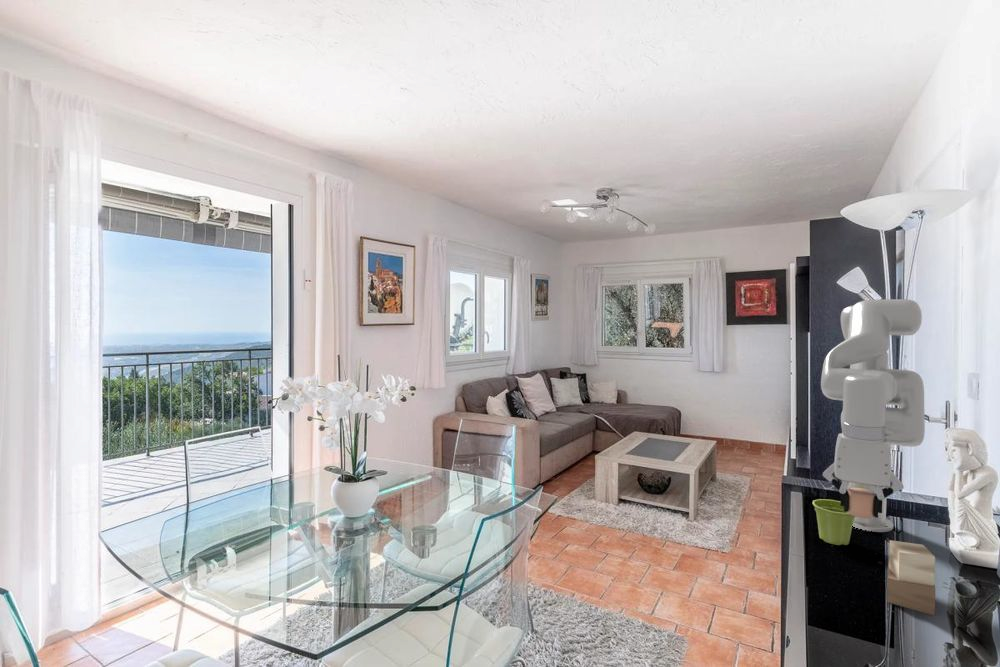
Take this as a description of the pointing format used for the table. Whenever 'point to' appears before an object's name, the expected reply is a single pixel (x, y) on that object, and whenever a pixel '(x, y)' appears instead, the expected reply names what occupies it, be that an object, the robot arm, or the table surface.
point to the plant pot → (833, 521)
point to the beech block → (911, 562)
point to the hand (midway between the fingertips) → (860, 511)
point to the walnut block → (911, 594)
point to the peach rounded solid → (861, 503)
